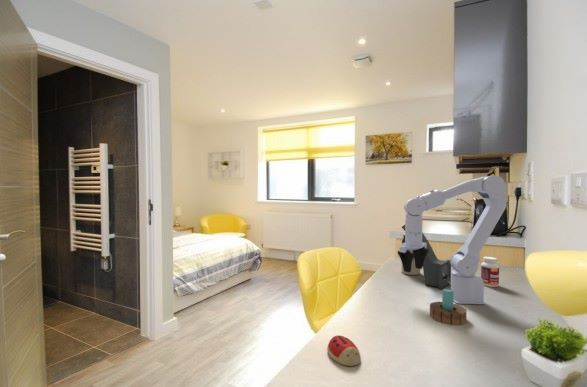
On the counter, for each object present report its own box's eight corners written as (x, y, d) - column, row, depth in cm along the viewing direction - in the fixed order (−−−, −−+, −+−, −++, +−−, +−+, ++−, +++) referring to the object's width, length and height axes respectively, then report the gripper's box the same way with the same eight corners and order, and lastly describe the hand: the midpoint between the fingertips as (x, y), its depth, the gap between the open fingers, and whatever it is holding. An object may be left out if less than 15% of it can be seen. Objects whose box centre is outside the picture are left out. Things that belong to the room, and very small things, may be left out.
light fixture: (410, 275, 136) (410, 221, 135) (451, 284, 124) (452, 224, 123) (399, 280, 128) (399, 223, 128) (442, 290, 116) (443, 226, 116)
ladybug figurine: (341, 371, 64) (342, 354, 64) (320, 348, 73) (320, 334, 73) (368, 364, 67) (368, 348, 67) (344, 343, 76) (344, 329, 76)
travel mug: (404, 269, 145) (404, 232, 145) (421, 272, 141) (422, 233, 140) (399, 273, 139) (399, 234, 139) (417, 276, 134) (418, 235, 134)
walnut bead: (456, 311, 96) (456, 302, 96) (473, 325, 86) (473, 314, 86) (425, 310, 96) (425, 301, 96) (438, 324, 86) (438, 313, 86)
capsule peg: (450, 315, 93) (450, 289, 92) (455, 319, 90) (455, 292, 89) (440, 315, 93) (440, 289, 93) (445, 319, 90) (445, 292, 90)
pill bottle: (492, 288, 119) (492, 260, 119) (477, 283, 125) (477, 256, 124) (502, 286, 121) (503, 258, 121) (487, 282, 127) (487, 255, 127)
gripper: (414, 229, 117) (413, 264, 117) (392, 232, 108) (391, 270, 108) (432, 231, 111) (431, 268, 111) (410, 235, 102) (409, 275, 102)
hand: (413, 270), depth 109 cm, fingers open, 7 cm apart
